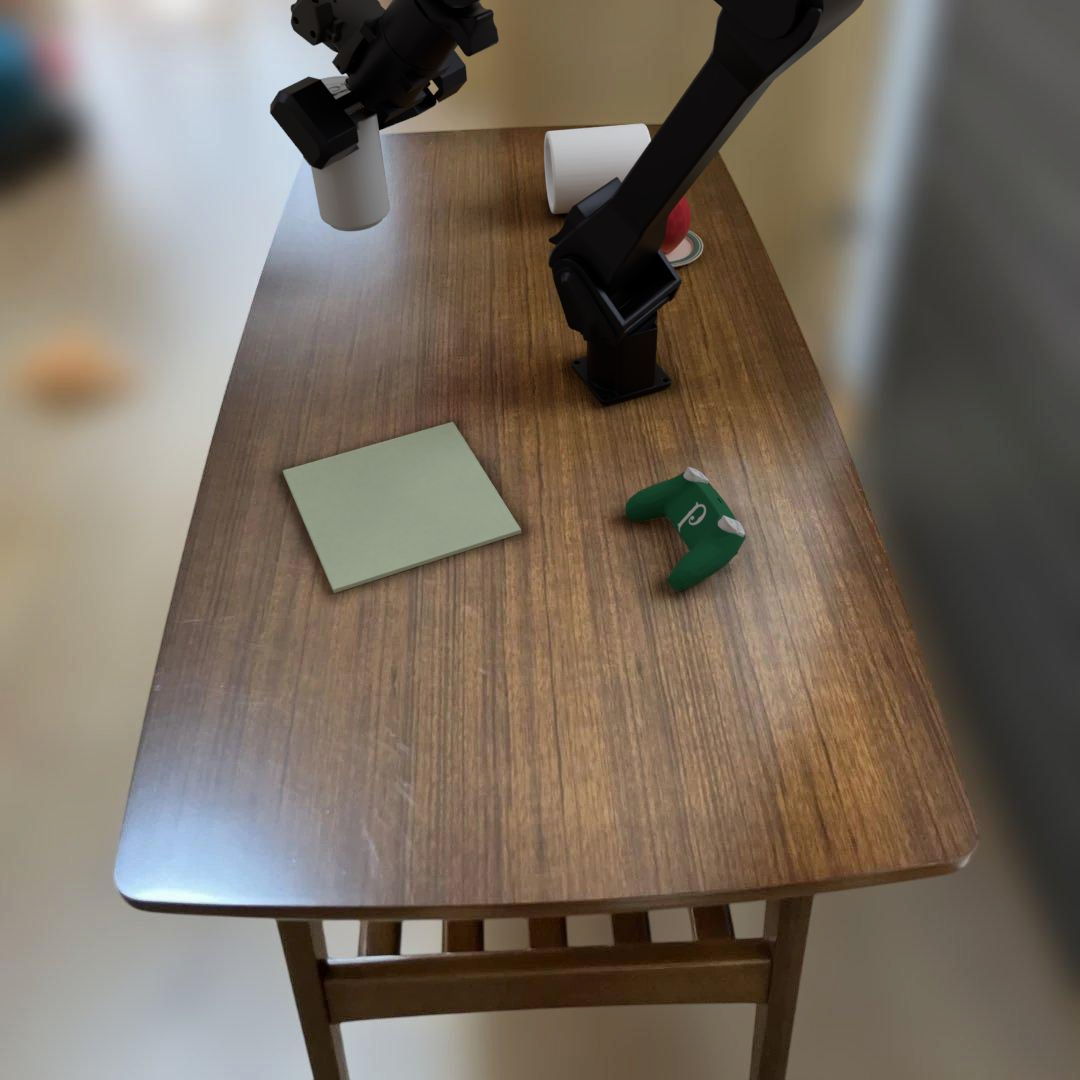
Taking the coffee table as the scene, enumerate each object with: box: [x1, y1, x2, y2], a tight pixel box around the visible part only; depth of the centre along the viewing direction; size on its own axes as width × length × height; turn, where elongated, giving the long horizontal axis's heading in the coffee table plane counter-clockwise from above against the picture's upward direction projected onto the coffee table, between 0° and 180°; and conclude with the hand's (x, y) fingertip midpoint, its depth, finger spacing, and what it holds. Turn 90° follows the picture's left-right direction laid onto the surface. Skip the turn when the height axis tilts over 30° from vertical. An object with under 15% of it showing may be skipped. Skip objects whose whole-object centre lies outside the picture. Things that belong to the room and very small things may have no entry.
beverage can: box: [310, 75, 391, 232], centre depth 99 cm, size 6×6×12 cm
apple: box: [660, 195, 704, 268], centre depth 107 cm, size 8×8×6 cm
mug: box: [543, 123, 652, 215], centre depth 115 cm, size 12×10×8 cm
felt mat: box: [282, 421, 522, 594], centre depth 83 cm, size 14×14×1 cm
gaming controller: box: [624, 466, 747, 593], centre depth 78 cm, size 9×4×6 cm
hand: (333, 146), depth 99 cm, fingers closed on beverage can, 6 cm apart
